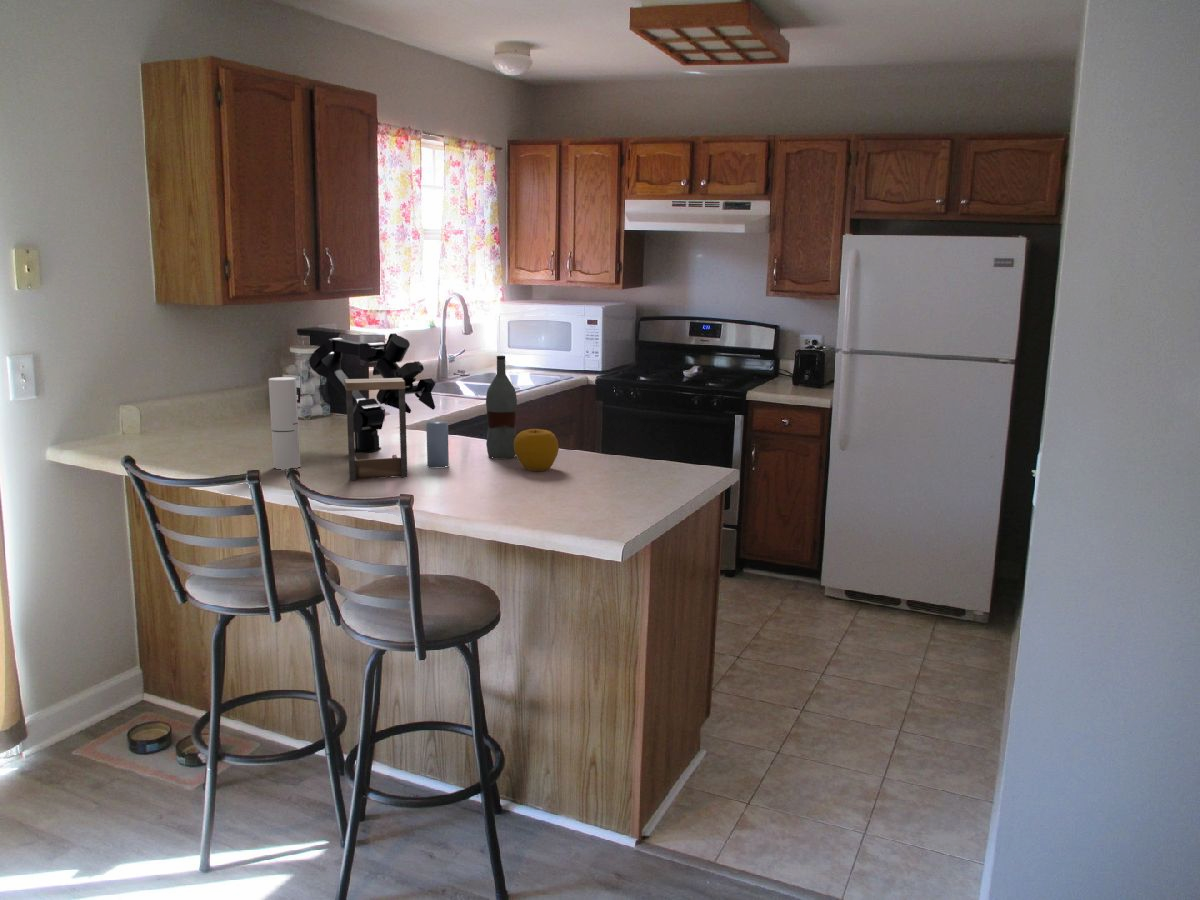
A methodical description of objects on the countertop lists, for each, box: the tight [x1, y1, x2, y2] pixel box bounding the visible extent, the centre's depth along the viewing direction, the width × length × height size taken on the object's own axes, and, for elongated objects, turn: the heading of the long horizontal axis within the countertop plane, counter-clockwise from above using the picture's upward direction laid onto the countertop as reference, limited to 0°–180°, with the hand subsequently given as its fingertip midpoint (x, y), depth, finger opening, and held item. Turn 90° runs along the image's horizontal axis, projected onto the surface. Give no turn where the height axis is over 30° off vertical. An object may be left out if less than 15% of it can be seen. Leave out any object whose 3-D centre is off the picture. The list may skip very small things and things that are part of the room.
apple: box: [514, 428, 559, 473], centre depth 270 cm, size 13×13×11 cm
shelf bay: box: [344, 377, 408, 482], centre depth 261 cm, size 15×15×26 cm
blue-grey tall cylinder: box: [426, 420, 450, 468], centre depth 273 cm, size 6×6×12 cm
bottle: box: [485, 355, 518, 459], centre depth 286 cm, size 9×9×30 cm
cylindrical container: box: [268, 376, 301, 471], centre depth 268 cm, size 7×7×25 cm
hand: (422, 410), depth 278 cm, fingers open, 9 cm apart
